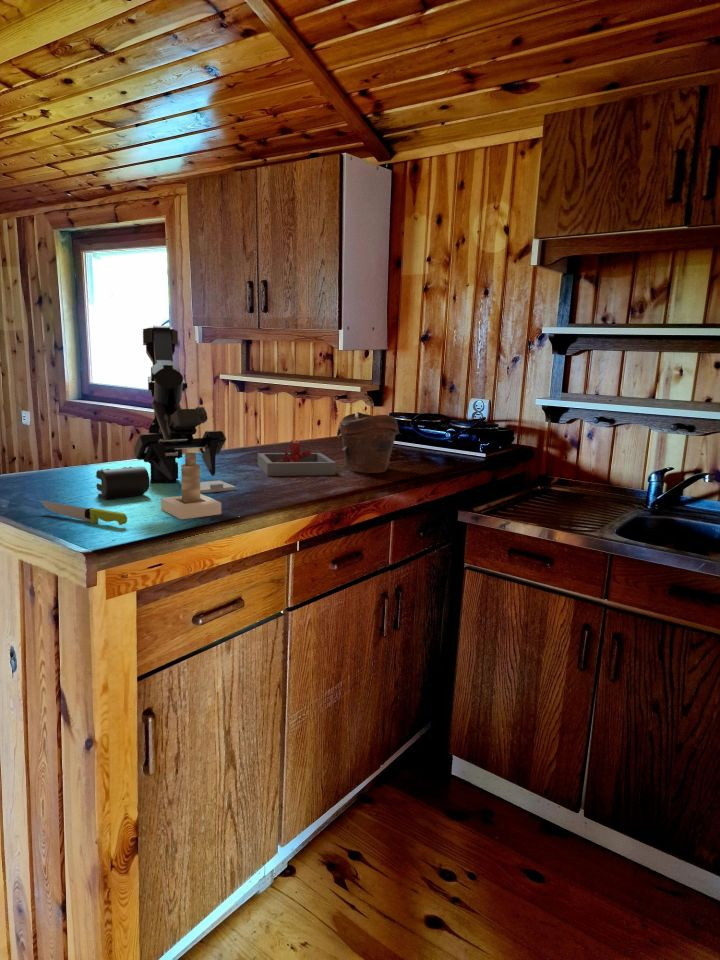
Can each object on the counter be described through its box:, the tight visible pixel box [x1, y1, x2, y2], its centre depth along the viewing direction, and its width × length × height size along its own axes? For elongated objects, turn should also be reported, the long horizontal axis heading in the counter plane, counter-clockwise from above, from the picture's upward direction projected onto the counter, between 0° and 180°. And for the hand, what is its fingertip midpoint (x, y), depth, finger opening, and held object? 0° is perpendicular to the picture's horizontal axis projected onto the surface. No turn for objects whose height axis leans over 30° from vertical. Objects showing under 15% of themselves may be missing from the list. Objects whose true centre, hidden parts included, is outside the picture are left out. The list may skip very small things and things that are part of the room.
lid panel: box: [200, 480, 237, 494], centre depth 157 cm, size 9×10×2 cm
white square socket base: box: [160, 493, 222, 520], centre depth 133 cm, size 10×9×2 cm
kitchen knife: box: [40, 500, 128, 526], centre depth 123 cm, size 22×1×3 cm, turn 66°
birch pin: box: [180, 452, 201, 504], centre depth 132 cm, size 4×4×12 cm
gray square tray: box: [257, 452, 337, 477], centre depth 188 cm, size 20×19×4 cm
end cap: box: [95, 466, 151, 500], centre depth 144 cm, size 10×7×7 cm
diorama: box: [277, 439, 312, 462], centre depth 188 cm, size 11×12×8 cm
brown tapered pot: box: [336, 411, 400, 474], centre depth 193 cm, size 18×20×18 cm
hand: (193, 476), depth 131 cm, fingers open, 9 cm apart
